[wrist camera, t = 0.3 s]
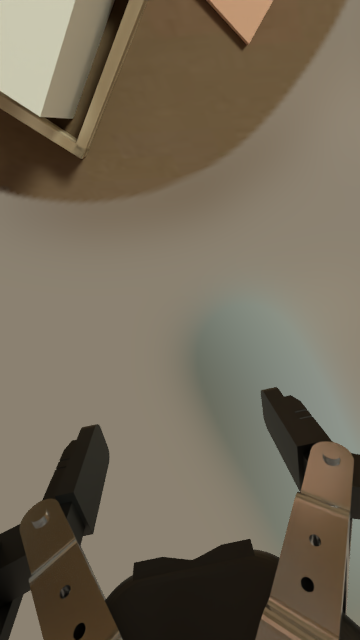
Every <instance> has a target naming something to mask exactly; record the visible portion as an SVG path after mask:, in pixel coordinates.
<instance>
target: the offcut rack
mask: <svg viewBox="0 0 360 640" xmlns="http://www.w3.org/2000/svg"><path fill="white" fill-rule="evenodd" d="M147 1H148V0H129V2H128V5H127V7H126V10H125V13H124V16H123V18H122V21H121V24H120V26H119V29H118V32H117V34H116V37H115V40H114V42H113V45H112V48H111V51H110V53H109V56H108V59H107V61H106V64H105V67H104V69H103V72H102V75H101V77H100V80H99V83H98V86H97V88H96V91H95V94H94V96H93V99H92V102H91V104H90V107H89V110H88V113H87V115H86V118H85V121H84V123H83V126H82V129H81V131H80V134H79V137H78V139H77V138H75V137H74V136H72V135H71V134H69V133H67V132H66V131H64V130H63V129H61V128H60V127H58V126H57V125H55V124H54V123H52V122H51V121H49V120H48V119H46V118H45V117H40V116H38V115H36V114H35V113H33V112H32V111H30V110H29V109H27V108H26V107H24V106H23V105H21V104H20V103H18V102H16V101H15V100H13V99H12V98H10V97H9V96H7V95H6V94H4V93H3V92H1V91H0V108H1V109H2V110H4V111H5V112H7V113H8V114H10V115H12V116H13V117H15V118H16V119H18V120H20V121H21V122H23V123H24V124H26V125H28V126H29V127H31V128H32V129H34V130H36V131H37V132H39V133H40V134H42V135H44V136H45V137H47V138H48V139H50V140H52V141H53V142H55V143H56V144H58V145H60V146H61V147H63V148H64V149H66V150H68V151H69V152H71V153H72V154H74V155H76V156H77V157H79V158H80V159H83V158H84V157H85V156H86V155H87V153H88V150H89V148H90V145H91V143H92V140H93V138H94V135H95V133H96V130H97V127H98V125H99V122H100V120H101V117H102V115H103V112H104V110H105V107H106V105H107V102H108V100H109V97H110V95H111V92H112V89H113V87H114V84H115V82H116V79H117V77H118V74H119V72H120V69H121V67H122V64H123V62H124V59H125V57H126V54H127V51H128V49H129V46H130V44H131V41H132V39H133V36H134V34H135V31H136V29H137V26H138V24H139V21H140V19H141V16H142V13H143V11H144V8H145V6H146V3H147Z"/></svg>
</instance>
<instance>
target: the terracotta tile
mask: <svg viewBox="0 0 360 640" xmlns="http://www.w3.org/2000/svg"><path fill="white" fill-rule="evenodd" d="M206 1H207V2H208V3H209V4H210V5H211V6H212V7H213V8H214V9H215V11H216V12H217V13H218V14H219V15H220V16H221V17H222V18H223V19H224V20H225V22H226V23H227V24H228V25H229V26H230V27H231V28H232V29H233V30H234V31H235V33H236V34H237V35H238V36H239V37H240V38H241V39H242V40H243V41H244V42H245V44H246V45H248V44H249V43H250V41H251V39H252V37H253V36H254V34H255V32H256V30H257V28H258V27H259V25H260V23H261V21H262V19H263V18H264V16H265V14H266V12H267V10H268V9H269V7H270V5H271V3H272V1H273V0H206Z"/></svg>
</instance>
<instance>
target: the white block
mask: <svg viewBox="0 0 360 640" xmlns="http://www.w3.org/2000/svg"><path fill="white" fill-rule="evenodd" d="M114 1H115V0H0V91H1V92H3V93H4V94H6V95H7V96H9V97H10V98H12V99H13V100H15V101H16V102H18V103H20V104H21V105H23V106H24V107H26V108H27V109H29V110H30V111H32V112H33V113H35V114H36V115H38V116H40V117H51V118H67V119H73V118H74V115H75V112H76V109H77V106H78V103H79V101H80V98H81V95H82V92H83V89H84V86H85V84H86V81H87V78H88V75H89V72H90V69H91V67H92V64H93V61H94V58H95V55H96V52H97V50H98V47H99V44H100V41H101V38H102V35H103V33H104V30H105V27H106V24H107V21H108V18H109V15H110V13H111V10H112V7H113V4H114Z"/></svg>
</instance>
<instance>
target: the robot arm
mask: <svg viewBox="0 0 360 640" xmlns="http://www.w3.org/2000/svg"><path fill="white" fill-rule="evenodd" d="M261 399H262V407H263V415H264V420H265V423H266V426H267V429H268V431H269V433H270V435H271V437H272V439H273V441H274V442H275V444H276V446H277V448H278V450H279V452H280V454H281V456H282V458H283V460H284V462H285V463H286V466H287V468H288V470H289V471H290V473H291V475H292V477H293V479H294V481H295V483H296V485H297V487H298V489H299V491H300V492H297V494H296V497H295V500H294V504H293V508H292V511H291V516H290V519H289V523H288V527H287V531H286V535H285V539H284V543H283V547H282V551H281V554H280V558H279V557H277V556H275V555H273V554H270V553H268V552H264V551H260V550H253V547H252V544H251V540H250V539H247V540H242V541H237V542H233V543H228V544H224V545H220V546H218V547H217V548H215V549H213V550H211V551H209V552H207V553H206V554H204V555H202V556H200V557H198V558H196V559H194V560H185V559H176V558H167V557H160V558H156V559H150V560H146V561H141V562H136V563H134V570H133V575H132V576H130V577H129V578H128V579H126V580H125V581H123V582H122V583H121V584H120V585H119V586H118V587H116V588H115V589H114V591H113V592H112V593H111V594H110V595H109V596H108V598H107V599H106V598H105V596H104V594H103V592H102V590H101V588H100V586H99V584H98V582H97V579H96V577H95V575H94V573H93V571H92V569H91V567H90V565H89V563H88V561H87V559H86V557H85V554H84V552H83V550H82V548H81V546H80V545H81V541H82V537H83V536H86V535H90V534H93V532H94V527H95V523H96V518H97V514H98V509H99V505H100V500H101V495H102V491H103V486H104V482H105V477H106V473H107V469H108V464H109V450H108V447H107V444H106V441H105V439H104V436H103V433H102V431H101V428H100V426H99V425H98V424H97V425H91V426H87V427H82V428H81V430H80V433H79V435H78V438H77V440H73V441H71V443H70V444H69V445H68V446H67V447H66V449H65V450H64V452H63V454H62V456H61V458H60V462H59V463H58V466H57V468H56V470H55V472H54V475H53V477H52V479H51V481H50V484H49V486H48V488H47V491H46V493H45V496H44V498H43V500H42V501H40V502H39V503H37V504H36V505H34V506H33V507H32V508H31V509H30V510H29V511H28V512H27V513H26V515H25V516H24V517H23V519H22V521H21V524H19V525H17V526H15V527H13V528H12V529H9V530H8V531H5V532H4V533H1V534H0V640H8V639H9V636H10V633H11V630H12V627H13V624H14V621H15V618H16V615H17V612H18V609H19V606H20V603H21V600H22V597H23V594H24V593H26V592H28V591H30V590H31V592H32V596H33V600H34V604H35V608H36V612H37V616H38V620H39V623H40V627H41V631H42V635H43V639H44V640H360V627H359V626H358V625H357V624H356V623H355V622H353V621H352V620H351V619H350V618H349V617H348V616H347V615H346V611H347V597H348V578H349V561H350V546H351V532H352V518H354V519H360V455H358V454H353V453H350V452H349V451H348V450H347V449H346V448H345V447H343V446H342V445H340V444H337V443H334V442H332V441H331V440H330V438H329V437H328V436H327V434H326V433H325V432H324V430H323V429H322V428H321V427H320V426H319V424H318V423H317V422H316V420H315V419H314V418H313V417H312V416H311V414H310V413H309V412H308V411H307V409H306V408H305V406H304V405H303V404H302V403H301V401H299V400H298V399H296V398H294V397H293V396H291V395H290V396H286V397H284V396H283V395H282V393H281V392H280V391H279V389H278V388H277V387H274V388H270V389H266V390H261Z"/></svg>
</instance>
